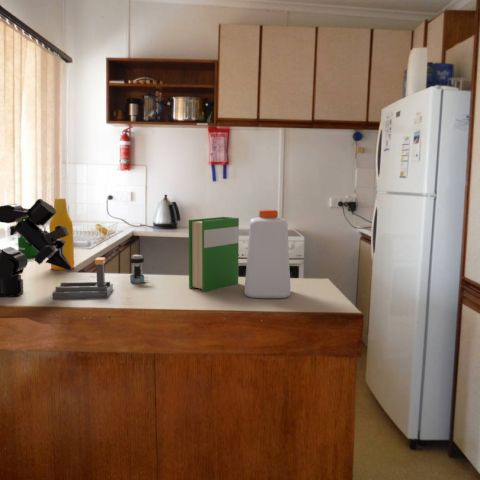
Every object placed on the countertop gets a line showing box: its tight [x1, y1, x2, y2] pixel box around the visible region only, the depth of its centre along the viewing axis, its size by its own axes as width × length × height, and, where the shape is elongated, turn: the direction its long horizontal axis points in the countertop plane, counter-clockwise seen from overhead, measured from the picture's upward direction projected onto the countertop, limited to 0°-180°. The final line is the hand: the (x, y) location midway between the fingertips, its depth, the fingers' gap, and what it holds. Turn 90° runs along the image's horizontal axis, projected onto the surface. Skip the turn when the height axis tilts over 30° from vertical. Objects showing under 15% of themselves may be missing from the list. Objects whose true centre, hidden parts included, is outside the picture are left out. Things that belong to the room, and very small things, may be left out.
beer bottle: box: [48, 197, 75, 271], centre depth 209 cm, size 9×9×29 cm
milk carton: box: [15, 216, 40, 259], centre depth 236 cm, size 9×9×20 cm
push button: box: [129, 254, 149, 284], centre depth 184 cm, size 7×5×10 cm
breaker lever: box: [94, 256, 108, 286], centre depth 166 cm, size 3×5×10 cm, turn 6°
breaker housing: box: [51, 281, 114, 300], centre depth 166 cm, size 17×12×3 cm
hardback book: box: [188, 216, 240, 293], centre depth 178 cm, size 18×7×24 cm, turn 139°
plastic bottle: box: [243, 209, 292, 299], centre depth 167 cm, size 15×15×28 cm
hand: (70, 268), depth 165 cm, fingers closed
